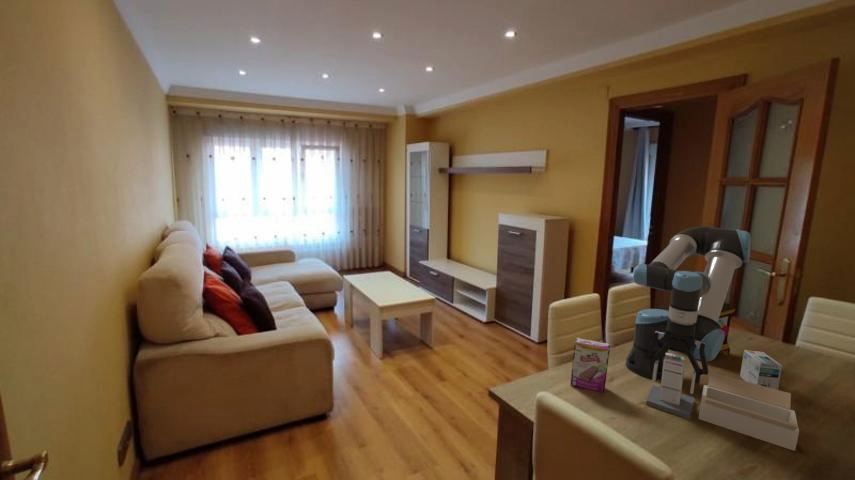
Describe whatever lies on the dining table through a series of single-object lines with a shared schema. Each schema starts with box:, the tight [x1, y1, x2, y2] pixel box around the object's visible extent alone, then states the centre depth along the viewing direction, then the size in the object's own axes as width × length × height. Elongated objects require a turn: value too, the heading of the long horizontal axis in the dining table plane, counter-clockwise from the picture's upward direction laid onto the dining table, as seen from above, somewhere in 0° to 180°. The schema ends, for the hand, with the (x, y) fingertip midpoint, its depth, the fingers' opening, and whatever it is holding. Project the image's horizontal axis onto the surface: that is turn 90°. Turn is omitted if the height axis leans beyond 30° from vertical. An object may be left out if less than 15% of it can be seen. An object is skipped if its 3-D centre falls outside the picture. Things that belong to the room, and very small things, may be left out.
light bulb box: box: [739, 349, 783, 390], centre depth 141 cm, size 11×7×11 cm, turn 168°
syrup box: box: [659, 352, 686, 405], centre depth 128 cm, size 6×6×14 cm
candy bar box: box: [570, 337, 611, 394], centre depth 137 cm, size 11×5×16 cm, turn 65°
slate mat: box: [645, 384, 695, 420], centre depth 129 cm, size 12×12×2 cm
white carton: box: [698, 371, 800, 452], centre depth 118 cm, size 22×20×9 cm
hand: (672, 385), depth 128 cm, fingers open, 10 cm apart
